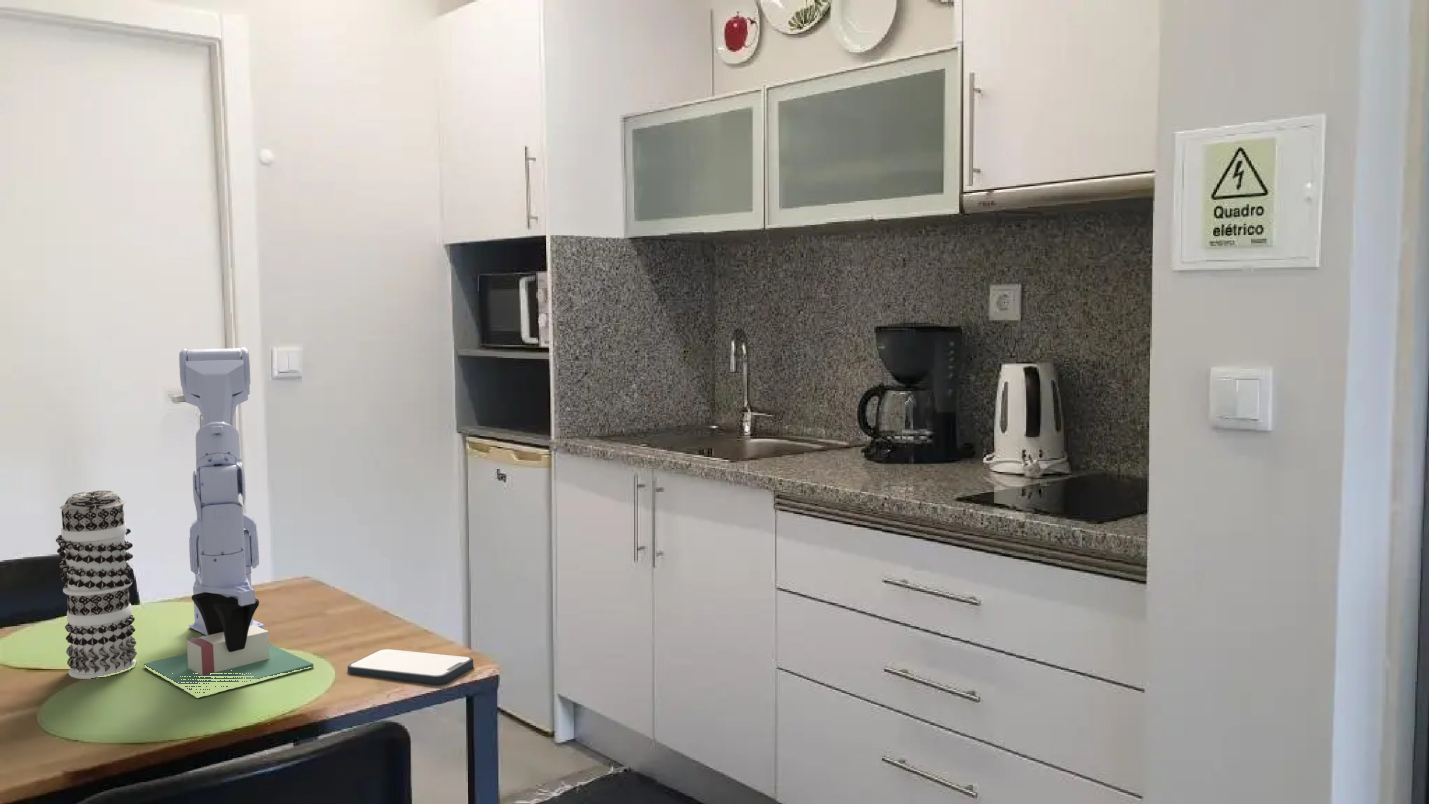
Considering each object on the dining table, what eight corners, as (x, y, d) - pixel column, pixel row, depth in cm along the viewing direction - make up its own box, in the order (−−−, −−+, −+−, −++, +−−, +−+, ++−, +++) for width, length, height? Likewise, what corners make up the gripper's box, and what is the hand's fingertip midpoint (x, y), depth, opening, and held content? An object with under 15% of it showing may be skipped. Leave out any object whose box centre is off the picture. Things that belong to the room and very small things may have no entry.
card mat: (143, 667, 157) (143, 663, 157) (254, 641, 169) (254, 637, 168) (198, 699, 145) (197, 694, 145) (313, 667, 156) (313, 663, 156)
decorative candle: (65, 664, 158) (53, 491, 156) (138, 654, 163) (128, 485, 160) (64, 684, 150) (52, 502, 148) (141, 672, 155) (130, 495, 152)
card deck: (254, 651, 162) (253, 624, 161) (269, 658, 159) (268, 631, 158) (188, 668, 155) (186, 639, 154) (202, 675, 152) (200, 647, 151)
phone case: (343, 678, 154) (441, 689, 149) (342, 666, 154) (441, 677, 149) (383, 658, 163) (477, 668, 157) (382, 647, 162) (477, 656, 157)
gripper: (171, 547, 157) (176, 641, 158) (216, 564, 147) (221, 664, 148) (221, 539, 162) (226, 630, 163) (268, 555, 152) (272, 651, 154)
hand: (227, 645), depth 156 cm, fingers open, 5 cm apart
